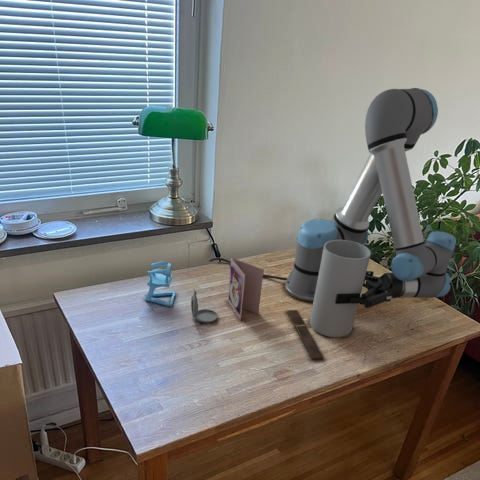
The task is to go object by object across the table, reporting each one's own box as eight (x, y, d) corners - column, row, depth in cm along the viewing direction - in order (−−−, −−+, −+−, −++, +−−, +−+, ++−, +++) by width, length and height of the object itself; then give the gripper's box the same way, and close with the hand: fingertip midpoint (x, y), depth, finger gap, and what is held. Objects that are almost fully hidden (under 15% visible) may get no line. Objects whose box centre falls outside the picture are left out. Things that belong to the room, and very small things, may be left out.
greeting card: (225, 301, 147) (228, 257, 139) (246, 298, 150) (251, 255, 142) (237, 320, 139) (242, 275, 130) (260, 317, 141) (266, 272, 133)
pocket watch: (221, 318, 139) (224, 289, 133) (200, 329, 133) (202, 298, 128) (202, 307, 143) (204, 278, 138) (181, 317, 138) (182, 287, 132)
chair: (149, 291, 149) (148, 257, 142) (175, 294, 149) (175, 259, 142) (144, 304, 142) (143, 268, 136) (171, 306, 142) (171, 271, 136)
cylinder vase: (302, 318, 143) (315, 241, 129) (337, 313, 147) (354, 238, 134) (322, 341, 133) (339, 261, 120) (359, 335, 137) (380, 256, 124)
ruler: (287, 312, 145) (287, 310, 144) (296, 312, 145) (296, 309, 145) (312, 360, 125) (312, 357, 125) (322, 359, 126) (323, 357, 125)
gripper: (414, 319, 128) (341, 322, 124) (375, 277, 149) (311, 278, 144) (422, 295, 124) (347, 297, 120) (381, 255, 145) (315, 255, 140)
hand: (327, 287), depth 132 cm, fingers closed on cylinder vase, 12 cm apart
